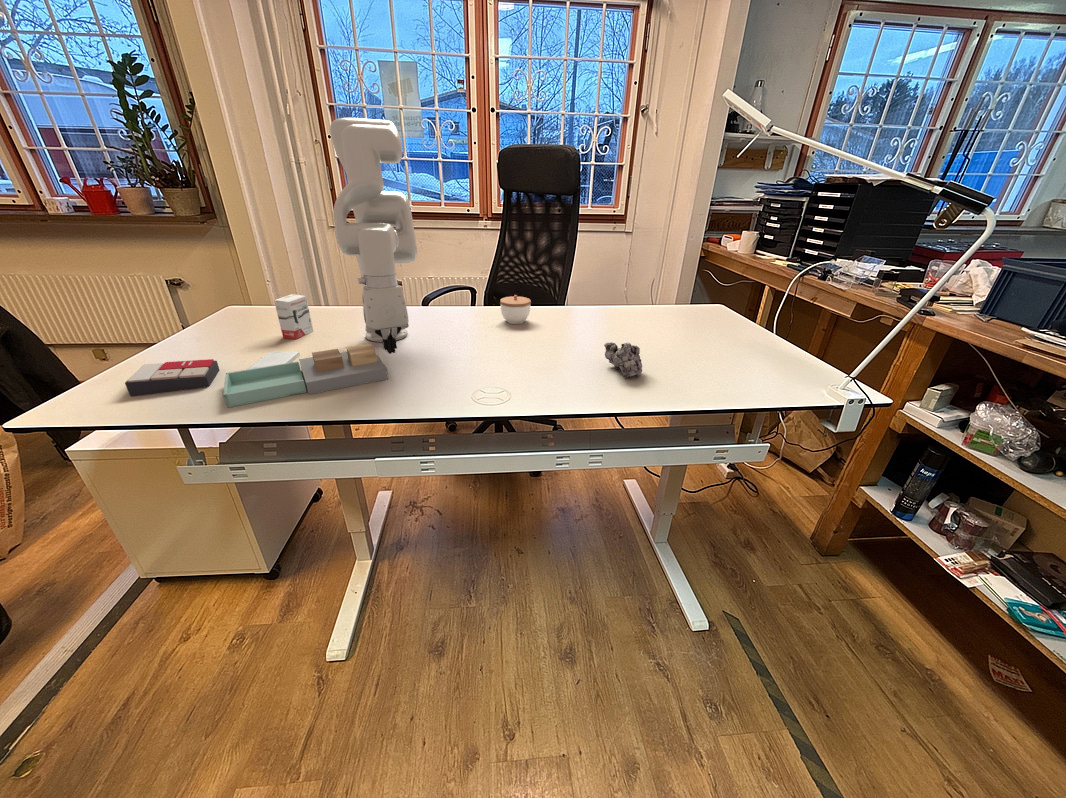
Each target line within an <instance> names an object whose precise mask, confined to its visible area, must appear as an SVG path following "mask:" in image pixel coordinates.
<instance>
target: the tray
mask: <svg viewBox="0 0 1066 798" xmlns="http://www.w3.org/2000/svg"><path fill="white" fill-rule="evenodd" d="M224 375H225V377H224V386H223V394H222V395H223V398H224V401H225V404H226V407H227V408H232V407H239V406H244V405H250V404H254V403H259V402H264V401H270V400H274V399H279V398H285V397H289V396H294V395H295V396H296V395H300V394H306V393H308V390H307V387H306V383H305V379H304V376H303V373H302V369H301V365H300V361H298V360H297V361H293V362H291V363H285V364H279V365H273V366H266V367H260V368H254V369H248V370H246V369H243V370H237V371H230V372H225V374H224Z"/></svg>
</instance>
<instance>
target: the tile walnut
mask: <svg viewBox="0 0 1066 798" xmlns="http://www.w3.org/2000/svg"><path fill="white" fill-rule="evenodd" d="M340 353H341V352H340V349H338V348H332V349H326V350H319V351H314V352H311V356H312V357H313V360H314V364H315V367H316V370H317V372H323V371H328V370H334V369H340V368H344V365H343V360H342V356H341V354H340Z"/></svg>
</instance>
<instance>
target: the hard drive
mask: <svg viewBox="0 0 1066 798" xmlns="http://www.w3.org/2000/svg"><path fill="white" fill-rule="evenodd" d="M300 356H301V353H300V352H299V351H269V352H268V353H267V354H265V355H264V356H263V357H260V359H258V360H256V361H255V362H254V363H253V364H252V365H249V366H248V367H247V368H246V369H245V370H248V369H254V368H260V367H266V366H273V365H279V364H285V363H291V362H295V360H296V359H298V358H299V357H300Z"/></svg>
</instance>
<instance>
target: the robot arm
mask: <svg viewBox="0 0 1066 798" xmlns="http://www.w3.org/2000/svg"><path fill="white" fill-rule="evenodd" d="M329 132H330V138H331V141H332V145H333V148H334V151H335V153H336V155H337V158H338V160H339V162H340V164H341V165H342V166H341V167H342V168H343V169H344V172H345V174H346V179H347V184H346V185H345V187H344V188H343V189H342V190H341V192H340V193H339V194H338V196H337V197H336V200H335V203H334V206H333V222H334V230H335V231H334V232H335V236H336V238H335V239H336V242H337V245H338V248H339V250H340V251H341V252H342V253H343V254H344V255H347V256H354V257H355V256H356V260H357V263H358V267H359V271H360V277H358V278H357V283H358V284H359V285H361V284H362V309H363V312H362V313H363V317H364V318H363V319H364V323H365V338H366V339H367V340H368V341H371V342H378V343H382V344H383V349H384V351H386V352H387V353H388V354H389V355H390V354H395V353H396V349H397V348H398V345H397V341H399V340H401V339H404V338H406V337H407V336H408V330H407V329H408V328H409V327H410V325H409V315H408V308H407V303H406V299H405V295H404V294H405V293H404V291H403V288H402V286H401V285H399V284H398V279H397V278H398V277H397V269H396V264H408V263H413V262H415V261H416V259H417V258H418V246H417V240H416V233H415V227H414V221H413V214H412V210H411V205H410V201H409V199H408V196H407V195H406V194H404V193H403V192H401V191H395V190H384V186H385V185H384V177H383V172H382V166H381V164H399V163H400V162H401V161H402V159H403V144H402V139H401V136H400V133H399V130H398V128H397V127H396V125H395V124H394V122H393V121H391V120H385V119H375V118H374V119H373V118H359V117H341V118H340V117H339V118H336V119H334V120H333V121H331V123H330V126H329ZM351 211H353V215H354V218H355V220H356V222H347V216H348V215H349V213H350V212H351Z"/></svg>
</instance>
